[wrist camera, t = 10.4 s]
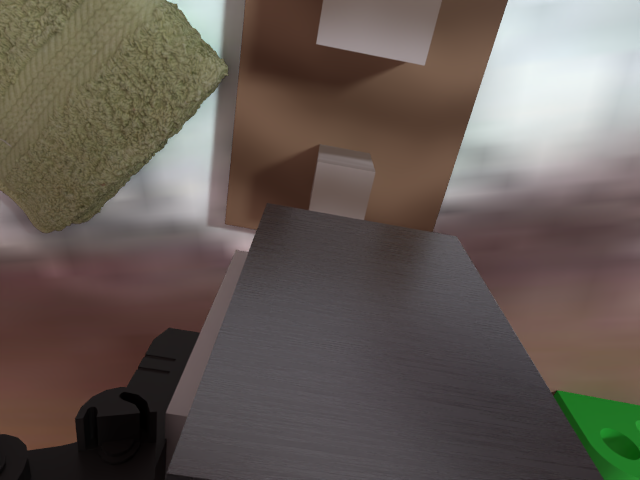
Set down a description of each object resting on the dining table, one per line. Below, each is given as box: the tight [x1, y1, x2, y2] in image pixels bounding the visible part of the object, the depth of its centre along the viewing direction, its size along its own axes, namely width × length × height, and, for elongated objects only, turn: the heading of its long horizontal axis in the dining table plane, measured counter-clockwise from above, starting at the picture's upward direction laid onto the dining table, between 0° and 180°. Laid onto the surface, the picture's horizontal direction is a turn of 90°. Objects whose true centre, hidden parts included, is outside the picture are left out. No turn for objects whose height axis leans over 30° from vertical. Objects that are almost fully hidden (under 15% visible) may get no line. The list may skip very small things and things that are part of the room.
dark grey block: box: [166, 203, 604, 480], centre depth 11 cm, size 6×6×9 cm
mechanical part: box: [554, 390, 640, 480], centre depth 36 cm, size 12×6×8 cm, turn 78°
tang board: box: [225, 0, 508, 232], centre depth 25 cm, size 20×14×6 cm
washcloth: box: [0, 0, 229, 233], centre depth 26 cm, size 13×18×3 cm
